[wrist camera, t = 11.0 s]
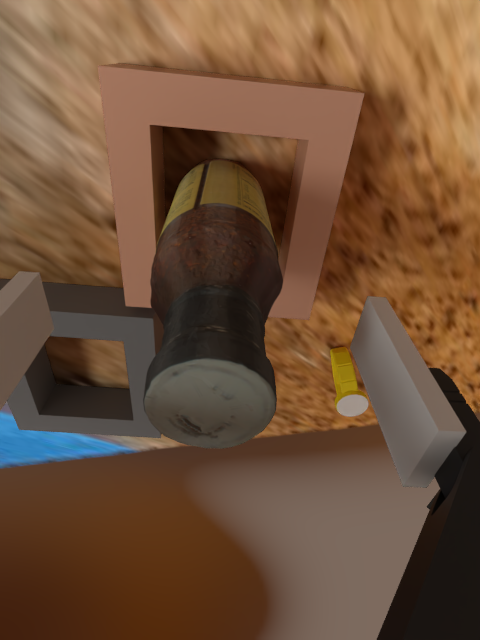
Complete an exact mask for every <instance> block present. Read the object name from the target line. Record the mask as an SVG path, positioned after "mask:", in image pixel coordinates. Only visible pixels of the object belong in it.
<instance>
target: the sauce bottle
mask: <svg viewBox="0 0 480 640" xmlns="http://www.w3.org/2000/svg"><path fill="white" fill-rule="evenodd" d="M151 272H152V273H151V279H150V285H151V300H150V302H151V307H152V308H153V309H154V311H155V312H156V314H157V315H158V317H159V319H160V321H161V322H162V324H163V328H164V334H163V339H162V345H161V348H160V351H159V352H158V353H157V354H156V356H155V357H154V359H153V360H152V362H151V364H150V366H149V368H148V371H147V375H146V382H145V390H144V398H143V404H144V411H145V413H146V414H147V416H148V419H149V421H150V423H151V424H152V425H153V426H154V427H155V428H156V429H157V430H158V431H159V432H161V433H162V434H163V435H164V436H166V437H168V438H170V439H173V440H175V441H177V442H180V443H183V444H186V445H192V446H199V447H204V448H228V447H233V446H236V445H239V444H242V443H245V442H246V441H248V440H250V439H252V438H253V437H254V436H256V435H257V434H259V433H260V432H262V431H263V430H264V429H265V427H266V426H267V425H268V424H269V423H270V421H271V419H272V418H273V415H274V413H275V410H276V401H277V398H276V385H275V376H274V370H273V368H272V365H271V363H270V360H269V359H268V358H267V357H266V352H265V344H264V336H265V326H264V325H265V323H266V320H267V318H268V315H269V313H270V310H271V308H272V306H273V304H274V302H275V300H276V299H277V297H278V296H279V294H280V293H281V290H282V285H283V276H282V273H281V269H280V266H279V262H278V250H277V246H276V243H275V239H274V235H273V232H272V228H271V224H270V220H269V216H268V212H267V208H266V204H265V199H264V195H263V192H262V189H261V187H260V185H259V182H258V181H257V180H256V179H255V177H254V176H253V175H252V174H251V173H250V172H249V171H248V170H247V169H246V168H245V167H244V166H243V165H241V164H240V163H239V162H234V161H231V160H225V159H209V160H205V161H203V162H201V163H199V164H197V165H196V166H195V167H194V168H192V169H191V171H190V172H189V173H187V174H186V175H185V177H184V178H183V179H182V180H181V182H180V184H179V186H178V188H177V191H176V194H175V196H174V199H173V202H172V205H171V208H170V211H169V213H168V216H167V219H166V221H165V224H164V227H163V229H162V232H161V235H160V238H159V240H158V243H157V247H156V254H155V256H154V261H153V264H152V268H151Z"/></svg>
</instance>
